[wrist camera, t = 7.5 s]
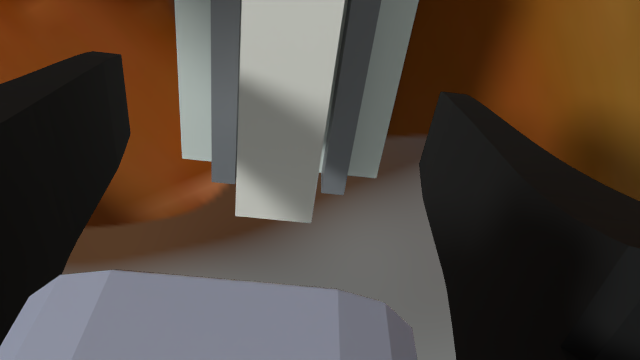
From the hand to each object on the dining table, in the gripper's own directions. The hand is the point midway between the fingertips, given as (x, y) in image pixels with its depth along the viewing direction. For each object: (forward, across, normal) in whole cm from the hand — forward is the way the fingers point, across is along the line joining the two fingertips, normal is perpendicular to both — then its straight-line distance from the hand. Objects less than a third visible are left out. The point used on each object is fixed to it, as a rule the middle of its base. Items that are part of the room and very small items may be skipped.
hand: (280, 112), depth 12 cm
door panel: (+9, 0, 0) cm, 9 cm away
